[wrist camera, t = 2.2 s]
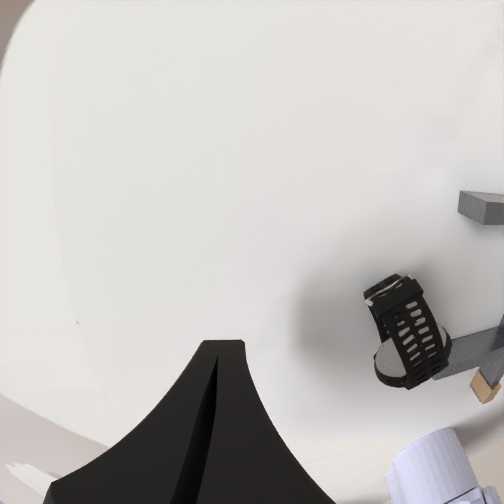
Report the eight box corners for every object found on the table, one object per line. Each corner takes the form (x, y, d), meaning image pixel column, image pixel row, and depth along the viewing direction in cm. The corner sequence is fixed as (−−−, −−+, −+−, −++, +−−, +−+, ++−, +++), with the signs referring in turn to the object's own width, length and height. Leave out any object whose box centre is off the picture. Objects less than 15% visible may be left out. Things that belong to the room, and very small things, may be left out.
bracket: (478, 382, 16) (491, 401, 14) (399, 407, 16) (409, 432, 14) (543, 120, 8) (570, 125, 6) (460, 86, 9) (493, 83, 6)
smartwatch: (346, 342, 14) (374, 419, 9) (345, 249, 12) (392, 318, 7) (416, 325, 13) (459, 389, 9) (426, 235, 12) (494, 287, 7)
